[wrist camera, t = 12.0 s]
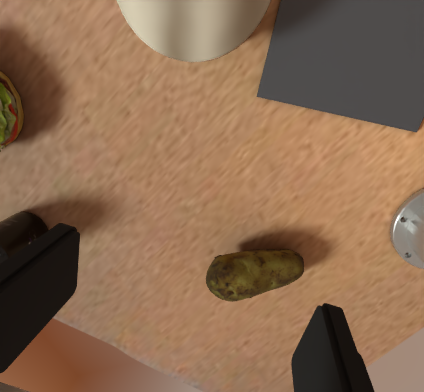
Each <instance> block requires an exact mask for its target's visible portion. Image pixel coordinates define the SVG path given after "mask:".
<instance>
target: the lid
mask: <svg viewBox="0 0 424 392" xmlns="http://www.w3.org/2000/svg"><path fill="white" fill-rule="evenodd" d="M270 1H271V0H117V2H118V5H119V7H120V9H121V11H122V14H123V15H124V17H125V19H126V21H127V22H128V24H129V25H130V27H131V28H132V29H133V31H134V32H135V33H136V34H137V35H138V37H139V38H140V39H141V40H142V41H143V42H145V43H146V44H147V45H148V46H149V47H151V48H152V49H154V50H155V51H157V52H159V53H160V54H162V55H165V56H167V57H169V58H173V59H176V60H180V61H186V62H204V61H210V60H213V59H216V58H220V57H222V56H224V55H226V54H228V53H230V52H231V51H233V50H234V49H236V48H237V47H239V46H240V45H241V44H242V43H243V42H244V41H246V40H247V38H248V37H249V36H250V35H251V34H252V33H253V32H254V30H255V29H256V28H257V26H258V25H259V23H260V22H261V20H262V18H263V17H264V15H265V13H266V11H267V9H268V6H269V4H270Z"/></svg>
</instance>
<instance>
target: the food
mask: <svg viewBox="0 0 424 392" xmlns="http://www.w3.org/2000/svg"><path fill="white" fill-rule="evenodd" d="M23 119H24V113H23V109H22V104H21V99H20V96H19V94H18V93H17V91H16V89H15V88H14V86H13V85H12V83H11V81H10V80H9V78H8V77H7V76H6V75H4V74H3V73H2V72H1V71H0V150H1V149H3V148H4V147H6V146H7V145H8V144H9V143H11V142H13V141H14V140H15V139H16V138H17V136H18V134H19V133H20V131H21V129H22V125H23ZM0 152H1V151H0Z"/></svg>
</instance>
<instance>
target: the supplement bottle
mask: <svg viewBox="0 0 424 392" xmlns="http://www.w3.org/2000/svg"><path fill="white" fill-rule="evenodd" d="M47 231H48V229H47V227H46V225H45V224H44V222H43V221H42V220H41V219H40V218H39V217H37V216H36V215H34V214H31V213H27V212H20V213H16V214H14V215H12V216H10V217H8V218H7V219H5V220H3V221H1V222H0V264H1V263H2V262H4V261H5V260H7V259H8V258H10V257H11V256H13V255H14V254H15V253H17V252H18V251H20V250H21V249H23V248H24V247H26V246H27V245H29V244H30V243H31V242H33V241H34V240H36V239H37V238H39V237H40V236H42V235H43V234H44V233H46V232H47Z"/></svg>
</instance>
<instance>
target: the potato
mask: <svg viewBox="0 0 424 392" xmlns="http://www.w3.org/2000/svg"><path fill="white" fill-rule="evenodd" d="M303 272H304V261H303V258H302V257H301V256H300V255H299V254H298V253H296V252H294V251H291V250H289V249H282V250H279V251H277V250H275V249H267V250H249V251H243V252H237V253H231V254H226V255H219V256H217V257H215V259H214V260H213V262H212V264H211V265H210V267H209V269H208V271H207V275H206V284H207V286H208V288H209V290H210V291H211V292H212V293H213V294H214V295H215V296H217V297H218V298H220V299H222V300H226V301H239V300H243V299H246V298H251V297H253V296H256V295H259V294H262V293H264V292H267V291H270V290H273V289H276V288H280V287H283V286H285V285H288V284H290V283H292V282H294V281H295V280H297V279H298V278H300V277H301V276H302V274H303Z"/></svg>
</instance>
